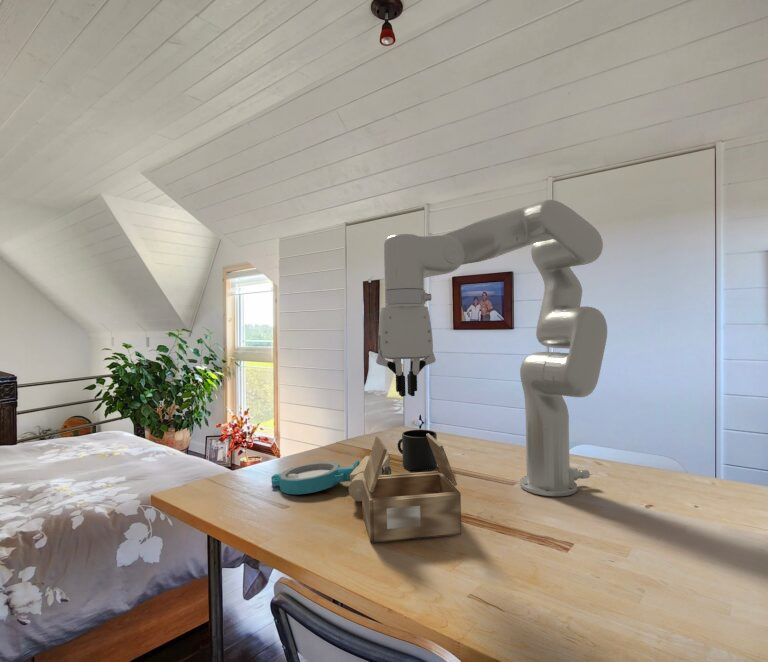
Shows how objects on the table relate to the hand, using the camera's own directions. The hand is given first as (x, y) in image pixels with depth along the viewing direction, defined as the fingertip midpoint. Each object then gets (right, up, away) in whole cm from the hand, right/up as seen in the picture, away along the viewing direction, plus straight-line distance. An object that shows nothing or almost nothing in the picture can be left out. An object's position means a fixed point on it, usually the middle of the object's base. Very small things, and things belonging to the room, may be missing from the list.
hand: (406, 394), depth 89 cm
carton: (+1, -25, 0) cm, 25 cm away
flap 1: (-8, -17, -1) cm, 19 cm away
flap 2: (+8, -17, +1) cm, 19 cm away
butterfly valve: (-17, -26, +23) cm, 38 cm away
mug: (+4, -25, +38) cm, 46 cm away
